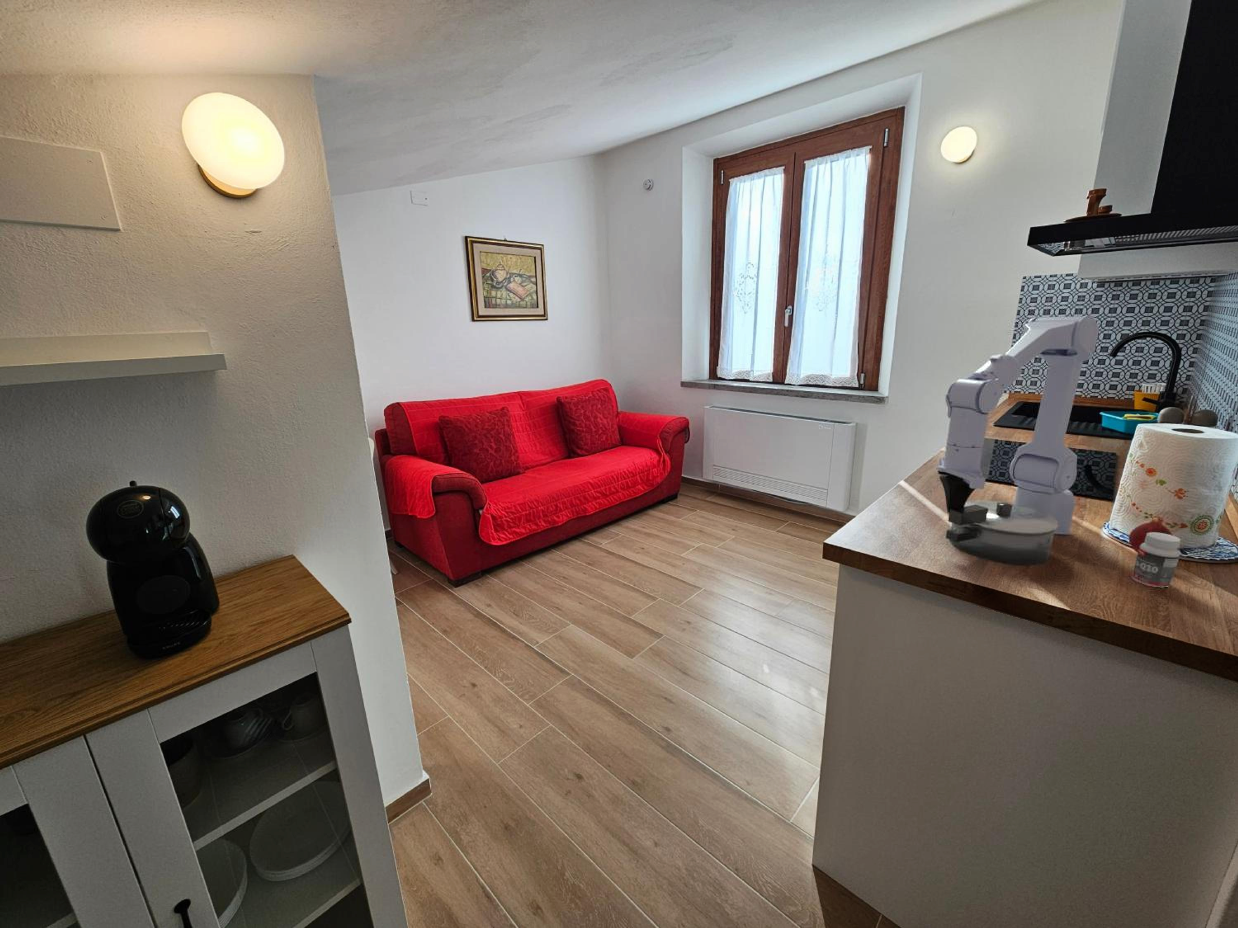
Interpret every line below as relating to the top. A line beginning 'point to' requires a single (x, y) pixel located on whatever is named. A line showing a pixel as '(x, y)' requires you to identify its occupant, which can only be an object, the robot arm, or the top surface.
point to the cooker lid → (1003, 517)
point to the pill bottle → (1157, 560)
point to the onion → (1141, 531)
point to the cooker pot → (1001, 545)
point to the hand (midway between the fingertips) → (953, 513)
